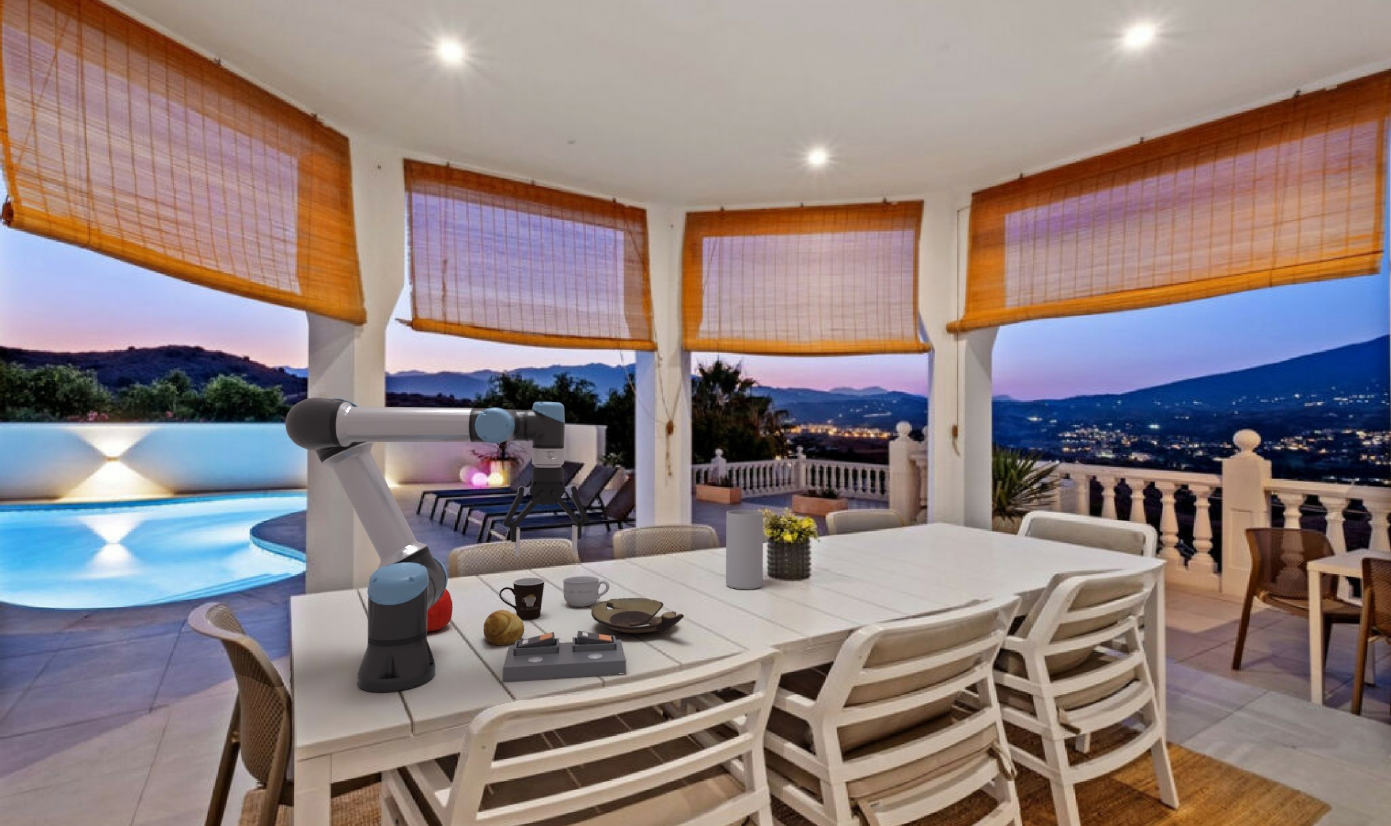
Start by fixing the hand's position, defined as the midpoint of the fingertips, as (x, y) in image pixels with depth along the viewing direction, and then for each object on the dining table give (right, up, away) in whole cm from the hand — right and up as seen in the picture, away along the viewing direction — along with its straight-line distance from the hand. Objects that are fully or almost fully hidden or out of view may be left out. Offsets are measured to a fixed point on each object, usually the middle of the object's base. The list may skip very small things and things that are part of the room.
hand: (546, 554), depth 157 cm
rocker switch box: (+7, -23, -9) cm, 26 cm away
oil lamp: (+20, -24, +16) cm, 35 cm away
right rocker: (+12, -19, -5) cm, 23 cm away
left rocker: (0, -19, -8) cm, 20 cm away
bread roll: (-13, -24, +9) cm, 28 cm away
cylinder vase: (+53, -25, +66) cm, 88 cm away
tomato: (-36, -24, +16) cm, 46 cm away
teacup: (+3, -24, +40) cm, 47 cm away
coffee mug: (-13, -24, +28) cm, 39 cm away
